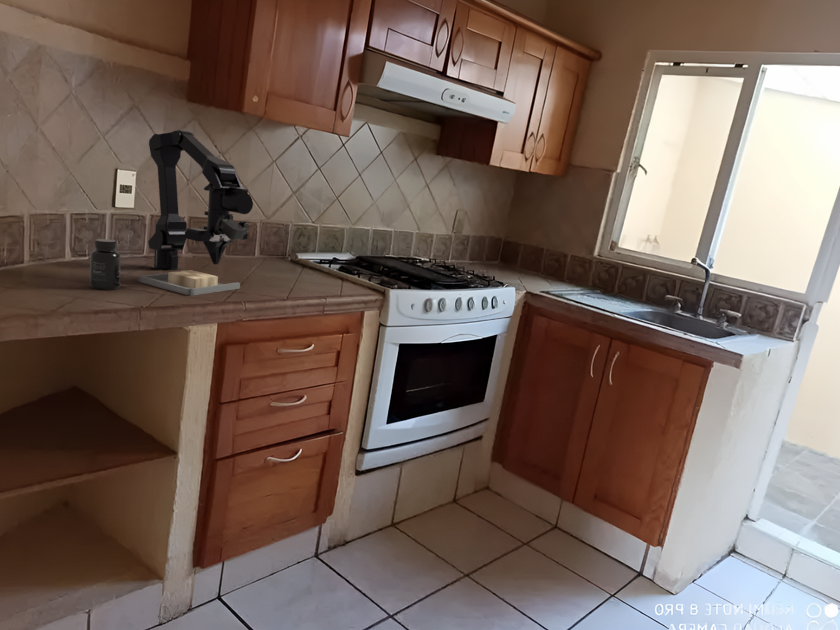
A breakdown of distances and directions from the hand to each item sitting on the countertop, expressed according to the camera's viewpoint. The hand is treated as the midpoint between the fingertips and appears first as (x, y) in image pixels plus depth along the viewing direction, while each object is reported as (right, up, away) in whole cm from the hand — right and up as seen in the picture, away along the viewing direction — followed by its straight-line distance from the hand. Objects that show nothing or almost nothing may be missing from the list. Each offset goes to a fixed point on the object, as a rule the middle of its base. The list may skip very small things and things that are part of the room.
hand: (215, 264), depth 176 cm
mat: (-5, -7, -6) cm, 10 cm away
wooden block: (-2, -4, -3) cm, 6 cm away
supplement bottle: (-22, -8, -19) cm, 30 cm away
